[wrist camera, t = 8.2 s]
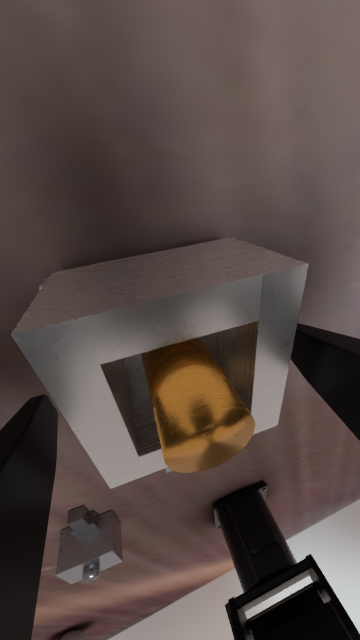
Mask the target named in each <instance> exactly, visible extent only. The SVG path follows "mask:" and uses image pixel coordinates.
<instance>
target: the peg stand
mask: <svg viewBox="0 0 360 640" xmlns="http://www.w3.org/2000/svg"><path fill="white" fill-rule="evenodd" d="M48 278H49V277H46V278H44V279H43V281H42V282H41V284H40V285H39V289H40V290H41V288H42V287H43V285H44V284H45V282H46V281H47V279H48ZM123 361H124V364H125V367H126V370H127V373H128V375H130V374H133V373H137V372H140V371H145V376H146V380H147V385H148V389H149V394H150V398H151V403H152V408H153V412H154V417H155V421H156V426H157V430H158V435H159V439H160V444H161V448H162V453H163V457H164V462H165V464H166V465H167V466H168V467H167V468H165V469H166V473H168V472H171V471H176V472H181V473H194V472H200V471H204V470H207V469H210V468H213V467H215V466H218V465H220V464H222V463H224V462H226V461H227V460H229V459H230V458H232V457H233V456H235V455H236V454H237V453H238V452H240V451H241V450H242V449H243V448H244V447H245V446H246V444H247V443H248V442H249V440H250V439H251V437H252V435H253V433H254V430H255V421H254V419H253V417H252V415H251V414H250V412H249V411H248V409H247V408H246V406H245V405H244V403H243V401H242V400H241V398H240V397H239V395H238V394H237V392H236V391H235V389H234V388H233V386H232V385H231V383H230V382H229V380H228V379H227V377H226V376H225V374H224V373H223V371H222V370H221V368H220V367H219V365H218V363H217V362H216V360H215V359H214V357H213V356H212V354H211V353H210V351H209V350H208V335H205V336H201V337H198V338H194V339H190V340H187V341H183V342H180V343H176V344H172V345H169V346H165V347H162V348H158V349H155V350H151V351H147V352H144V353H140V354H137V355H133V356H129V357H126V358H123Z"/></svg>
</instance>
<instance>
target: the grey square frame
mask: <svg viewBox="0 0 360 640" xmlns="http://www.w3.org/2000/svg"><path fill="white" fill-rule="evenodd" d="M308 265H309V264H308V263H305V262H303V261H300V260H297V259H294V258H291V257H288V256H285V255H282V254H280V253H277V252H274V251H271V250H268V249H265V248H262V247H259V246H257V245H254V244H251V243H248V242H245V241H242V240H239V239H236V238H233V237H229V238H224V239H219V240H214V241H209V242H204V243H199V244H194V245H188V246H183V247H178V248H173V249H168V250H163V251H158V252H153V253H148V254H143V255H137V256H132V257H127V258H122V259H117V260H112V261H107V262H102V263H97V264H91V265H86V266H81V267H76V268H71V269H66V270H61V271H56V272H52V273H51V275H50V276H49V278H48V279H47V281H46V282H45V284H44V285H43V287H42V288H41V290H40V291H39V293H38V294H37V296H36V297H35V298H34V300H33V301H32V303H31V304H30V306H29V307H28V309H27V310H26V312H25V313H24V315H23V316H22V318H21V319H20V321H19V322H18V324H17V325H16V327H15V328H14V330H13V331H12V333H11V336H12V337H13V339H14V340H15V342H16V343H17V345H18V346H19V348H20V350H21V351H22V353H23V354H24V356H25V357H26V359H27V360H28V362H29V363H30V365H31V367H32V368H33V370H34V371H35V373H36V374H37V376H38V377H39V379H40V381H41V382H42V384H43V385H44V387H45V388H46V390H47V391H48V393H49V394H50V396H51V398H52V399H53V401H54V402H55V404H56V405H57V407H58V408H59V410H60V411H61V413H62V415H63V416H64V418H65V419H66V421H67V422H68V424H69V425H70V427H71V429H72V430H73V432H74V433H75V435H76V436H77V438H78V439H79V441H80V442H81V444H82V446H83V447H84V449H85V450H86V452H87V453H88V455H89V456H90V458H91V459H92V461H93V463H94V464H95V466H96V467H97V469H98V470H99V472H100V473H101V475H102V477H103V478H104V480H105V481H106V483H107V484H108V486H109V487H110V489H112V488H114V487H117V486H120V485H122V484H125V483H128V482H130V481H133V480H135V479H138V478H141V477H143V476H146V475H149V474H151V473H154V472H156V471H159V470H162V469H164V468H167V467H168V466H167V465H166V464H165V462H164V457H163V453H162V448H161V444H160V439H159V435H158V430H157V426H156V421H155V417H154V412H153V408H152V403H151V398H150V394H149V389H148V385H147V380H146V376H145V371H140V372H137V373H133V374H130V375H128V373H127V370H126V367H125V364H124V361H123V358H126V357H129V356H133V355H137V354H140V353H144V352H147V351H151V350H155V349H158V348H162V347H165V346H169V345H172V344H176V343H180V342H183V341H187V340H190V339H194V338H198V337H201V336H205V335H208V350H209V351H210V353H211V354H212V356H213V357H214V359H215V360H216V362H217V363H218V365H219V367H220V368H221V370H222V371H223V373H224V374H225V376H226V377H227V379H228V380H229V382H230V383H231V385H232V386H233V388H234V389H235V391H236V392H237V394H238V395H239V397H240V398H241V400H242V401H243V403H244V405H245V406H246V408H247V409H248V411H249V412H250V414H251V415H252V417H253V419H254V421H255V430H254V433H253V434H256V433H259V432H261V431H264V430H266V429H269V428H272V427H274V426H277V425H278V420H279V415H280V410H281V405H282V400H283V394H284V389H285V384H286V379H287V374H288V369H289V363H290V358H291V353H292V348H293V343H294V337H295V332H296V327H297V322H298V317H299V312H300V306H301V301H302V296H303V291H304V286H305V281H306V275H307V270H308Z"/></svg>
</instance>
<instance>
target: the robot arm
mask: <svg viewBox="0 0 360 640" xmlns="http://www.w3.org/2000/svg"><path fill="white" fill-rule="evenodd" d="M291 360H292V361H293V362H294V364H295V365H296V367H297V368H298V369H299V371H300V372H301V374H302V375H303V376H304V378H305V379H306V380H307V381H308V382H309V384H310V385H311V386H312V387H313V388H314V389H315V390H316V392H317V393H318V394H319V395H320V396H321V397H322V398H323V400H324V401H325V402H326V403H327V404H328V405H329V406H330V407H331V409H332V410H333V411H334V412H335V413H336V414H337V415H338V417H339V418H340V419H341V420H342V421H343V422H344V423H345V425H346V426H347V427H348V428H349V429H350V430H351V431H352V432H353V434H354V435H355V436H356V437H357V438H358V439H359V440H360V339H358V338H354V337H350V336H346V335H342V334H338V333H334V332H331V331H327V330H323V329H319V328H315V327H311V326H307V325H303V324H300V323H297V327H296V332H295V337H294V343H293V348H292V353H291ZM57 428H58V414H57V410H56V409H55V407H54V405H53V404H52V402H51V401H50V399H49V398H48V396H47V395H45V394H42V395H39V396H35V397H32V398H30V399H29V400H28V401H27V402H26V403H25V404H24V405H23V406H22V407H21V409H20V410H19V411H18V412H17V413H16V414H15V415H14V416H13V417H12V418H11V419H10V420H9V421H8V423H7V424H6V425H5V426H4V427H3V428H2V429H1V430H0V640H31V637H32V630H33V623H34V616H35V609H36V603H37V596H38V589H39V582H40V575H41V568H42V561H43V554H44V547H45V540H46V533H47V526H48V519H49V512H50V505H51V498H52V491H53V485H54V478H55V470H56V459H57ZM267 490H268V486H267V484H266V482H263V483H261V484H258V485H256V486H254V487H251V488H249V489H247V490H244V491H242V492H240V493H237V494H235V495H233V496H230V497H228V498H226V499H223V500H221V501H219V502H216V503H215V504H213V516H214V525H215V528H216V529H219V528H222V531H223V534H224V537H225V540H226V543H227V546H228V548H229V551H230V554H231V557H232V560H233V563H234V566H235V569H236V571H237V574H238V577H239V580H240V583H241V586H242V589H243V591H244V593H243V594H241V595H240V596H238V597H236V598H235V597H233V598H231V599H229V600H228V601H229V602H228V603H227V604H226V605H225V607H226V611H227V614H228V618H229V621H230V624H231V628H232V632H233V636H234V640H360V634H359V632H358V631H357V629H356V627H355V626H354V624H353V622H352V621H351V619H350V617H349V616H348V614H347V612H346V611H345V609H344V607H343V606H342V604H341V603H340V601H339V599H338V598H337V596H336V595H335V593H334V591H333V590H332V588H331V586H330V585H329V583H328V582H327V580H326V578H325V576H324V575H323V573H322V572H321V570H320V568H319V567H318V565H317V563H316V562H315V560H314V559H313V557H312V556H311V554H310V555H308V556H306V558H305V559H304V560H302V561H300V562H299V563H297V562H296V560H295V558H294V556H293V555H292V552H291V551H290V549H289V547H288V545H287V543H286V541H285V539H284V537H283V535H282V533H281V531H280V529H279V527H278V525H277V523H276V522H275V520H274V518H273V516H272V514H271V512H270V510H269V508H268V506H267V504H266V502H265V499H266V494H267ZM309 575H310V577H311V579H312V581H313V583H311V584H309V585H307V586H305V587H304V588H302V589H301V590H298V591H297V592H295V593H293V594H291V595H290V596H288V597H286V598H284V599H283V600H281V601H279V602H277V603H276V604H274V605H272V606H270V607H269V608H267V609H265V610H263V611H262V612H260V613H258V614H256V615H255V616H253V617H251V618H249V619H248V620H247V618H246V615H245V611H247V610H249V609H251V608H252V607H254V606H256V605H258V604H259V603H261V602H263V601H265V600H266V599H268V598H270V597H272V596H273V595H275V594H277V593H279V592H281V591H282V590H284V589H286V588H288V587H289V586H291V585H293V584H295V583H296V582H298V581H300V580H302V579H303V578H305V577H307V576H309ZM322 599H323V600H322ZM323 601H324V602H323Z"/></svg>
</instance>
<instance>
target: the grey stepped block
mask: <svg viewBox="0 0 360 640" xmlns="http://www.w3.org/2000/svg"><path fill="white" fill-rule="evenodd" d="M67 525H68V526H69V528H66V529H64V530H61V538H60V545H59V553H58V561H57V568H56V576H58V577H60V578H62V579H63V580H65V581H67V582H69V583H70V584H73V583H75V582H77V581H80V580H82V583H90V582H93V581H95V580H97V579H98V578H99V577H100V571H102V570H104V569H107V568H109V567H111V566H113V565H116V564H118V563H120V562H122V561H123V560H122V539H121V523H120V521H119V520H118V519H117V517H116V516H115V515H114V513H113V512H112V510H111V511H109V512H106V513H104V514H101V515H99V516H98V515H97V514H96V513H95V511H92V512H89V511H88V510H87V509H86V508H85V507H84V506H81V507H79V508H76V509H73V510H71V511H69V512H68V521H67Z"/></svg>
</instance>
